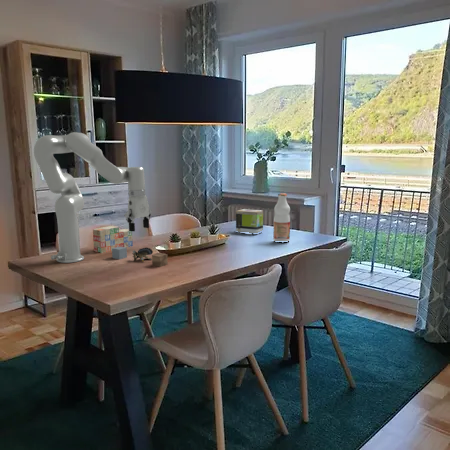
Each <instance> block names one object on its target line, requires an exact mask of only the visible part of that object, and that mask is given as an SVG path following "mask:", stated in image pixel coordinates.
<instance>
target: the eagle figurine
mask: <svg viewBox="0 0 450 450" xmlns="http://www.w3.org/2000/svg"><path fill="white" fill-rule="evenodd" d="M153 253H154V251H153V250H152V249H151V248H150V247H143V248H140V249H138V250H137V251H136V250H132V253H131V254H132V258H133V262H135V261H136V260H137V259H140V260H141V261H142V262H144V260H145V259H148V260H151V261H152V257H151V258H150V255H151V256H152V255H153ZM144 258H145V259H144Z"/></svg>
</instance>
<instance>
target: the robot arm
mask: <svg viewBox="0 0 450 450" xmlns="http://www.w3.org/2000/svg"><path fill="white" fill-rule="evenodd" d="M68 153H74V154H76V155H77V156H78V157H80V158H81V159H82V160H84V161H85V162H87V164H89V165H90V166H91V167H92V169H93V170H94V171H95V172H96V173H97V174H99V175H100V176H101V177H103V178H104V179H105V180H107V181H108V182H110V183H112V184H115V185H119V184H123V183H127V184H128V185H127V186H128V193H127V194H128V199H127V200H128V201H127V211H125V213H124V214H123V215H124V218H125V221H127V223H128V229H129V231H132V232H136V225H135V224H136V223H135V220H136V219H142V218H143V219H142V224H143V225H142V226H143V228H144V229H149V228H150V223H149V222H150V217H151V216H152V215H151V214H152V212H153V211H152V209H151V208H150V205H149V201H148V197H147V195H146V183H145V182H146V181H145V170H144V167H142V166H131V167H127V166H116V165H114V164H113V163H112V162H110V161H109V160H108V159H107V158H106V157H105V155H104V154H103V151H102V149H100V147H98V146H97V145H96V144H94V143H93V142H91V140H90V137H89V136H88V135H87V134H85V133H84V132H83V133H82V132H76V131H73V132H70V133H68V134H63V135H51V134H47V135H43V136H41V137H39V138H38V139H37V141H35V144H34V146H33V156H34V159H35V161H36V163H37V165H38V167H39V170H40V172H41V174H42V176H43V179H44V180H45V183H46V185H47V188H48V189H49V191H50V192H51V193H52V194H56V195H57V194H58V195H59V194H60V195H61V196H59V197H58V198H57V199H56V201H55V203H54V211H55V217H56V219H57V220H56V221H57V222H56V223H57V234H58V236H57V237H58V248H59V251H57V253H56V254H53V255H51V256H50V259H51V260H56V262H58V263H63V264H69V263H70V264H71V263H76V262H81V261H83V260H84V259H85V256H84V255H82V254H81V240H80V224H79V219H78V214H77V213H79V212H81V211H82V210H83V209H84V206H85V199H84V197H83V194H82V192H81V190H80V187H79V185H78V183H77V181H76V179H75V177H74V176H72V174H70V173H68V172H63V170H62V168H61V166H60V164H59V162H58V160H57V159H56V158H55V157H54V155H55V154H68Z"/></svg>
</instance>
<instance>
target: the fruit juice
mask: <svg viewBox="0 0 450 450" xmlns="http://www.w3.org/2000/svg"><path fill="white" fill-rule="evenodd" d="M277 196H278V199H277V202H276V204H275V206H274V208H273V212H274V216H273V239H272V240H274V241H289V240H290V241H291V238H290V237H291V215H290V213H291V207H290V205H289V203H288V201H287V200H288V199H287V196H288V194H287V193H277ZM274 241H273V242H274ZM290 241H289V242H290Z"/></svg>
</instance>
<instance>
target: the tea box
mask: <svg viewBox="0 0 450 450" xmlns="http://www.w3.org/2000/svg"><path fill="white" fill-rule="evenodd" d="M262 230H263V231H264V210H263V209H262V210H260V209H246V208H245V209H244V208H243V209H238V210H236V211H235V232H236V231H238V232H249V233H258V232H260V231H262Z"/></svg>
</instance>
